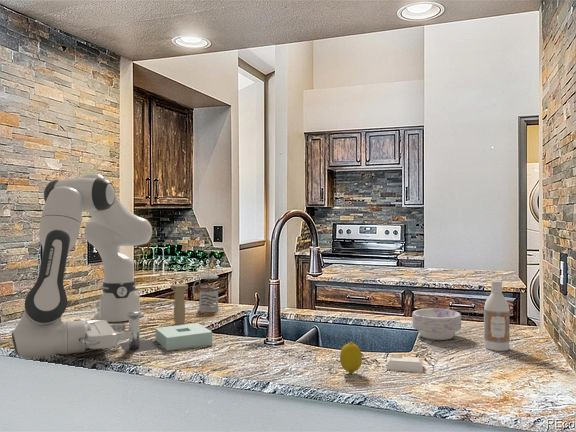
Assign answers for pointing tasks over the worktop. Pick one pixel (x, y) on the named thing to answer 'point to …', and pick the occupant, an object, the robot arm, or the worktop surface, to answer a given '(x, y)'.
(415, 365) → the soap bar
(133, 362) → the worktop surface
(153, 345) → the mat
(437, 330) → the marbled white bowl
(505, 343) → the bath foam
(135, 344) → the pin
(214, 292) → the french press
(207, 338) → the hole block
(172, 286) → the handle
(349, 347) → the lemon
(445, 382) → the worktop surface
